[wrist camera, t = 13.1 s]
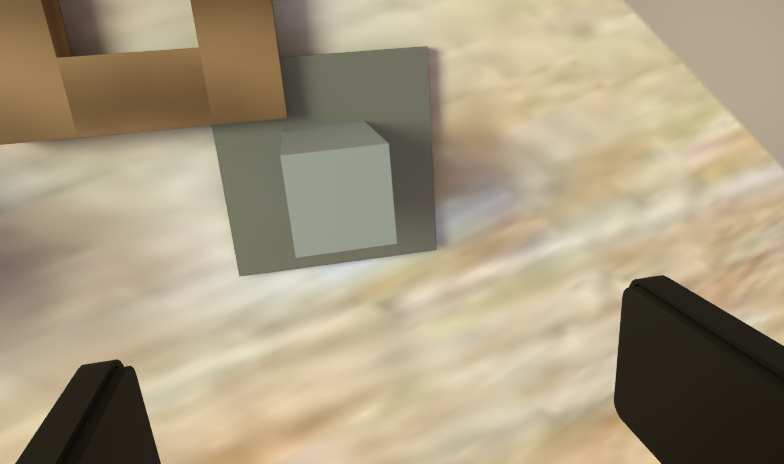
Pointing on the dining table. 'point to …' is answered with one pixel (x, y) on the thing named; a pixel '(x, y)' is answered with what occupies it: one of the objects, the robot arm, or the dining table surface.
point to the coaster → (324, 107)
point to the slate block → (338, 188)
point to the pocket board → (136, 75)
